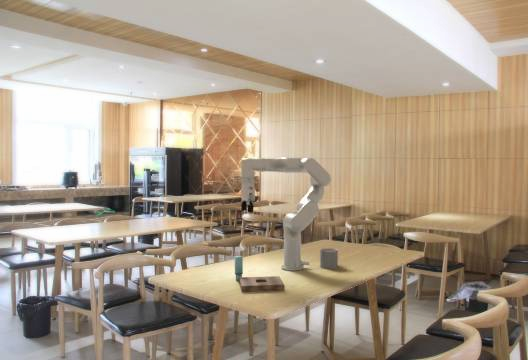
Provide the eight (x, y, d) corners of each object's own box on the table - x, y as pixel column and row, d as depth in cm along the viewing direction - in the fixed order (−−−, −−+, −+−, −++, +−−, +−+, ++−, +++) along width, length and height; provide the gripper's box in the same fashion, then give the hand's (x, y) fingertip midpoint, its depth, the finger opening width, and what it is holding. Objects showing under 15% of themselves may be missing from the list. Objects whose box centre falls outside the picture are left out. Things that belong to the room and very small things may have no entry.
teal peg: (242, 278, 232) (242, 255, 232) (243, 280, 228) (242, 257, 228) (234, 279, 232) (234, 256, 231) (235, 281, 228) (234, 257, 227)
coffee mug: (330, 269, 252) (330, 252, 251) (316, 266, 259) (316, 249, 259) (344, 266, 261) (344, 249, 261) (331, 263, 268) (331, 246, 268)
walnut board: (279, 282, 225) (279, 276, 225) (284, 290, 209) (284, 284, 209) (239, 283, 223) (239, 277, 223) (241, 292, 207) (241, 285, 207)
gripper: (260, 181, 240) (259, 212, 240) (248, 180, 256) (247, 209, 256) (247, 181, 237) (246, 213, 237) (236, 180, 253) (235, 210, 253)
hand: (247, 211), depth 247 cm, fingers open, 9 cm apart
